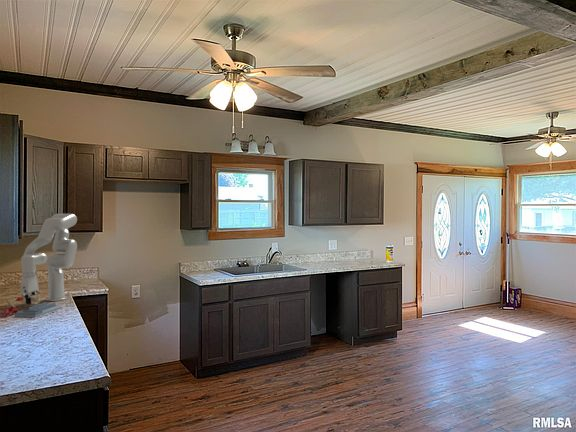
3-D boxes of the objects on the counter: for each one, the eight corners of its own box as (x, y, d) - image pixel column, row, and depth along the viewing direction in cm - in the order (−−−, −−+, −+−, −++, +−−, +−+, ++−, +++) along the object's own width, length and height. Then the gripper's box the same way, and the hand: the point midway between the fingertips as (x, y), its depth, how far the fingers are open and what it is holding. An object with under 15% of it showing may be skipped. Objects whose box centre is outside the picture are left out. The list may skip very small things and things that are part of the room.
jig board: (43, 307, 278) (42, 301, 278) (62, 307, 276) (61, 302, 276) (14, 316, 256) (14, 310, 255) (35, 317, 253) (35, 311, 253)
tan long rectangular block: (26, 300, 280) (26, 293, 279) (39, 302, 278) (40, 295, 278) (21, 302, 276) (21, 295, 275) (35, 304, 274) (35, 297, 274)
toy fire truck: (0, 317, 254) (-1, 300, 254) (19, 311, 267) (19, 296, 267) (5, 317, 253) (4, 301, 253) (24, 311, 267) (23, 296, 266)
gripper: (33, 271, 284) (35, 299, 286) (13, 277, 268) (15, 306, 269) (44, 271, 283) (45, 299, 284) (24, 277, 266) (26, 306, 268)
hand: (31, 302), depth 277 cm, fingers closed on tan long rectangular block, 4 cm apart
